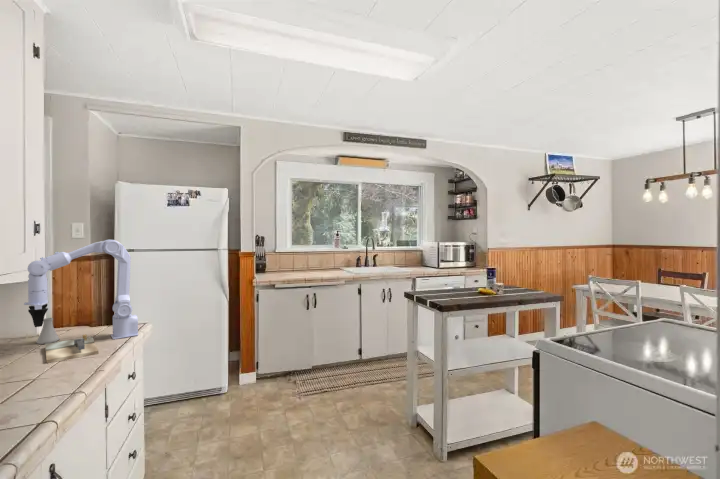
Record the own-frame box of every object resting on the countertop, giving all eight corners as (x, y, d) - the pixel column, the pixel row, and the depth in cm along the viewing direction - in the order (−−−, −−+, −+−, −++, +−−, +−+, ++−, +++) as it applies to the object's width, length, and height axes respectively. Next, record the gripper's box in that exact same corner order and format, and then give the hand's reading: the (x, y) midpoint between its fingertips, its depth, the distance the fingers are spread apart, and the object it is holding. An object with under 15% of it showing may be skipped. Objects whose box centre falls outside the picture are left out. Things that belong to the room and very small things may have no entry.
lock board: (91, 340, 152) (91, 331, 151) (98, 353, 135) (98, 343, 135) (45, 348, 141) (45, 338, 141) (46, 363, 125) (46, 352, 125)
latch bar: (73, 343, 140) (73, 339, 140) (84, 341, 142) (83, 338, 142) (76, 350, 132) (76, 346, 132) (86, 348, 134) (86, 344, 134)
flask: (48, 344, 146) (48, 320, 145) (31, 344, 146) (31, 320, 146) (63, 339, 153) (63, 316, 153) (47, 339, 153) (47, 316, 153)
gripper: (24, 289, 141) (24, 322, 142) (23, 294, 131) (24, 330, 131) (47, 287, 146) (48, 319, 146) (48, 292, 135) (49, 327, 136)
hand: (38, 324), depth 139 cm, fingers open, 7 cm apart
